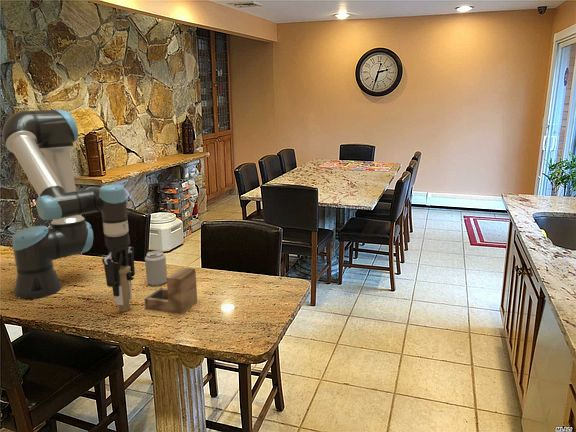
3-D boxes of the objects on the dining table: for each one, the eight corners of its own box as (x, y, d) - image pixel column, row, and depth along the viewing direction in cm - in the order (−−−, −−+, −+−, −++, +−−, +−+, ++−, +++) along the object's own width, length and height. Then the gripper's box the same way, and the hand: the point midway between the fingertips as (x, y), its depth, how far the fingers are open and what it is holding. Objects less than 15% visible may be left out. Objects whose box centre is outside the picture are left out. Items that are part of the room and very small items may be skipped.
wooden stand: (145, 308, 157) (142, 275, 154) (162, 296, 166) (159, 264, 163) (182, 313, 152) (180, 279, 150) (197, 301, 162) (195, 268, 159)
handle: (129, 314, 153) (124, 270, 149) (111, 312, 154) (107, 269, 151) (137, 307, 157) (133, 265, 154) (120, 306, 159) (115, 264, 155)
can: (142, 285, 177) (140, 255, 174) (155, 278, 183) (152, 249, 180) (159, 287, 174) (156, 257, 171) (171, 280, 181) (169, 251, 178)
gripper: (109, 242, 140) (116, 313, 146) (142, 227, 156) (148, 292, 162) (88, 240, 142) (96, 310, 148) (123, 225, 158) (129, 290, 164)
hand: (123, 301), depth 155 cm, fingers closed on handle, 4 cm apart
